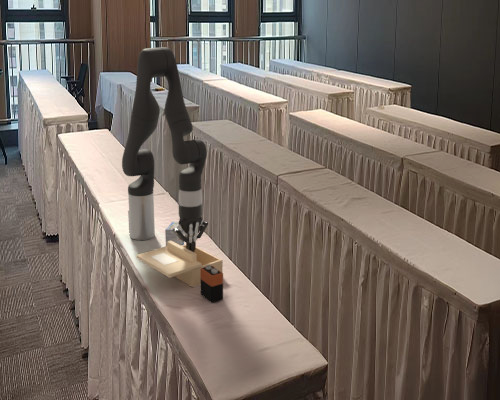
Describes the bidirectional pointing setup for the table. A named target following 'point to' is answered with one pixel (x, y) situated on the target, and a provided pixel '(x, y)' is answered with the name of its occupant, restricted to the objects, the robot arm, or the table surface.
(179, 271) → the lid
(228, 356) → the table surface
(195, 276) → the box
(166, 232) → the medicine box
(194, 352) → the table surface
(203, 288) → the battery
